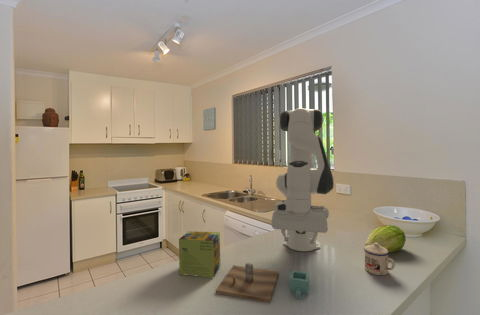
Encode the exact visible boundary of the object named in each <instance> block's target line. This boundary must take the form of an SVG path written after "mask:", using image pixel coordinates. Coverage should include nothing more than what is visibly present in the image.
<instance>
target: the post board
mask: <svg viewBox="0 0 480 315" xmlns="http://www.w3.org/2000/svg"><path fill="white" fill-rule="evenodd" d="M279 275H280V271H279V270H273V269H267V268H265V269H264V268H256V267H254V264H253V263H251V262H248V263H245V265H244V266H243V265H232V267H231V268H230V270H229V271H228V273H227V274H226V275H225V277H224V278H223V279H222V281H221V282H220V283H219V285H218V286H217V288H216V289H215V294H217V293H220V294H219V295H222V294H225V295H224V296H228V295H230V296H229V297H234V296H235V298H240V297H241V298H240V299H248V300H252V301H258V302H264V303H271V301H272V298H273V294H274V291H275V287H276V285H277V282H278V279H279Z"/></svg>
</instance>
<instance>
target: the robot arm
mask: <svg viewBox="0 0 480 315" xmlns="http://www.w3.org/2000/svg"><path fill="white" fill-rule="evenodd" d="M324 117H325V116H324V114H323V112H322V111H321V110H320V109H317V108H314V109H311V108H310V109H309V108H307V109H306V108H303V107H299V108H296V109H295V108H294V110H285V111H282V112H281V113H280V115H279V118H278V124H279V125H278V126H279V128H280V129H281V130H282V131H283V132H287V137H288V141H289V143H290V152H289V153H290V162H288V166H287V172H285V173H281V174H279V175H278V176H277V178H276V181H275V184H276V189H277V190H278V191H279V192H280V193H282V195H283V196H284V197H286V199H282V200H279V201H277V202H276V203H275V204H274V211H273V213H272V217H271V227H272V229H273V230H280V231H281V234H282V236H283V246H285V247H287V248H289V249H291V250H293V251H298V252H310V251H312V252H313V251H314V250H318V249H321V245H320V243H319V241H318V239H317V237H318V236H319V234H318V233H322V234H326V233H327V232H328V231H329V226H328V219H329V216H330V215H329V214H330V212H329V210H328V208H327V207H325V206H323V205H321V206H320V205H319V206H318V205H312V195H319V194H320V195H327V194H329V193H330V192H331V191H332V190H333V189H334V186H335V185H334V184H335V178H334V176H333V173H332V171H331V167H330V165H329V161H328V158H327V153H326V150H325V146H324V144H323V140H322V138H321V137H320V136H318V135H316V132H317V131H320V129H321V128H322V127H323V125H324V120H325V119H324ZM313 155H314V156H315V159H316V160H315V161H316V163H317V168H316V166H315V165H314V164H315V163H314V161H313Z"/></svg>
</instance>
